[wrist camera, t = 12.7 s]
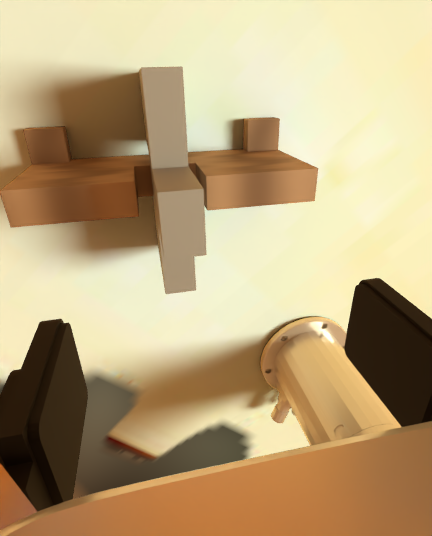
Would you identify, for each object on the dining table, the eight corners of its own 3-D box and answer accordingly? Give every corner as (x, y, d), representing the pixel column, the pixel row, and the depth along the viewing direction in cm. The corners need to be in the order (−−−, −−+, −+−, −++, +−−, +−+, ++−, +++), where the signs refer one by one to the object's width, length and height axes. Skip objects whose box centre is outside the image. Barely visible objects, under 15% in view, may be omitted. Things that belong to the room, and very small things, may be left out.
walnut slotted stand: (273, 117, 34) (322, 129, 25) (269, 199, 38) (310, 233, 29) (28, 128, 30) (-15, 146, 22) (50, 217, 34) (22, 263, 25)
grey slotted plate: (181, 242, 38) (209, 335, 24) (158, 245, 37) (172, 340, 24) (168, 71, 30) (197, 61, 17) (138, 72, 30) (143, 62, 16)
